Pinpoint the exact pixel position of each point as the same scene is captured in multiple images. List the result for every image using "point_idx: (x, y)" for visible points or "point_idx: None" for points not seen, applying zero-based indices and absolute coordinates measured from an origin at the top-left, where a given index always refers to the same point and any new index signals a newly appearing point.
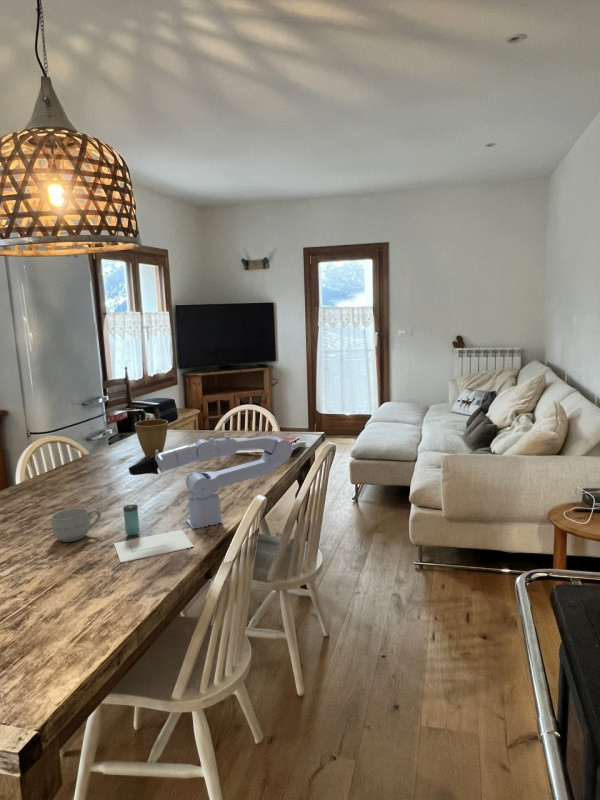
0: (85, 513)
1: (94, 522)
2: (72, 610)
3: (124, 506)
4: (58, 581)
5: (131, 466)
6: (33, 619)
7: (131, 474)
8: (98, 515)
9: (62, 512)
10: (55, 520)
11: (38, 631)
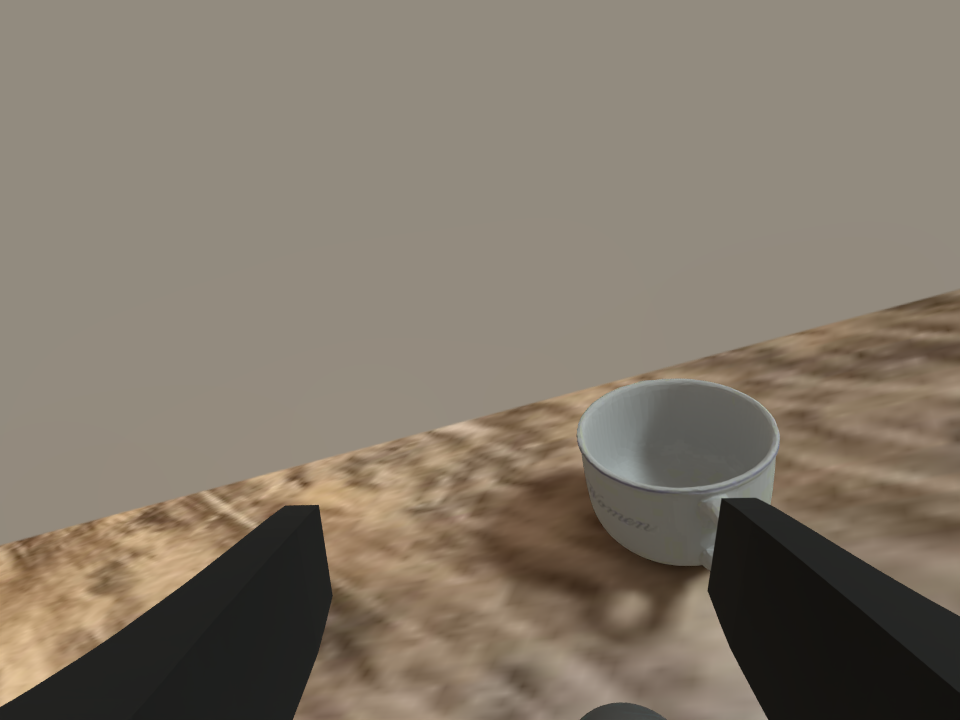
0: (645, 484)
1: None
2: (82, 622)
3: (653, 713)
4: None
5: (750, 520)
6: (141, 541)
7: (715, 606)
8: None
9: (735, 400)
10: (594, 404)
11: (76, 563)
